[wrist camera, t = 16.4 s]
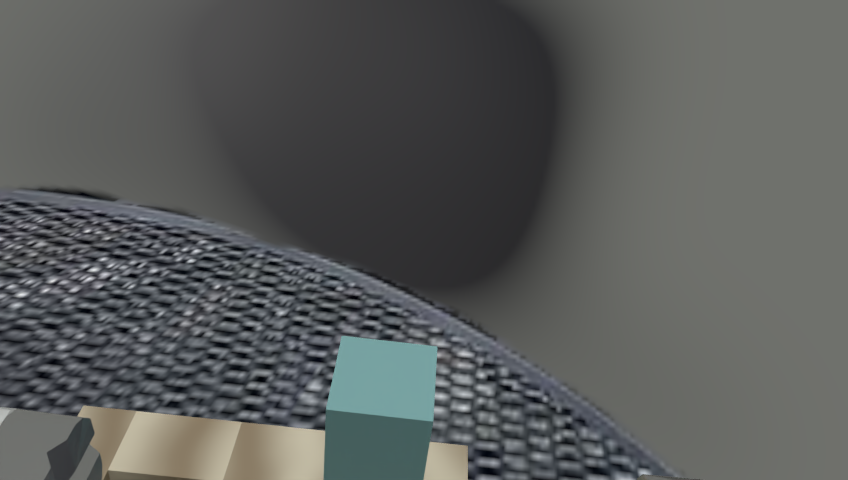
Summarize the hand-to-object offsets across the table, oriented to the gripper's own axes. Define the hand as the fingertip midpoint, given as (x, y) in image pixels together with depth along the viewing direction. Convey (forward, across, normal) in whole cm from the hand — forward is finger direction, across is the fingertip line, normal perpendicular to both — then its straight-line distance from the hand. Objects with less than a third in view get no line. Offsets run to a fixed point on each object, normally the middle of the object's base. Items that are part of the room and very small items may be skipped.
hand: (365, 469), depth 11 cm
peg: (+13, 0, +24) cm, 27 cm away
